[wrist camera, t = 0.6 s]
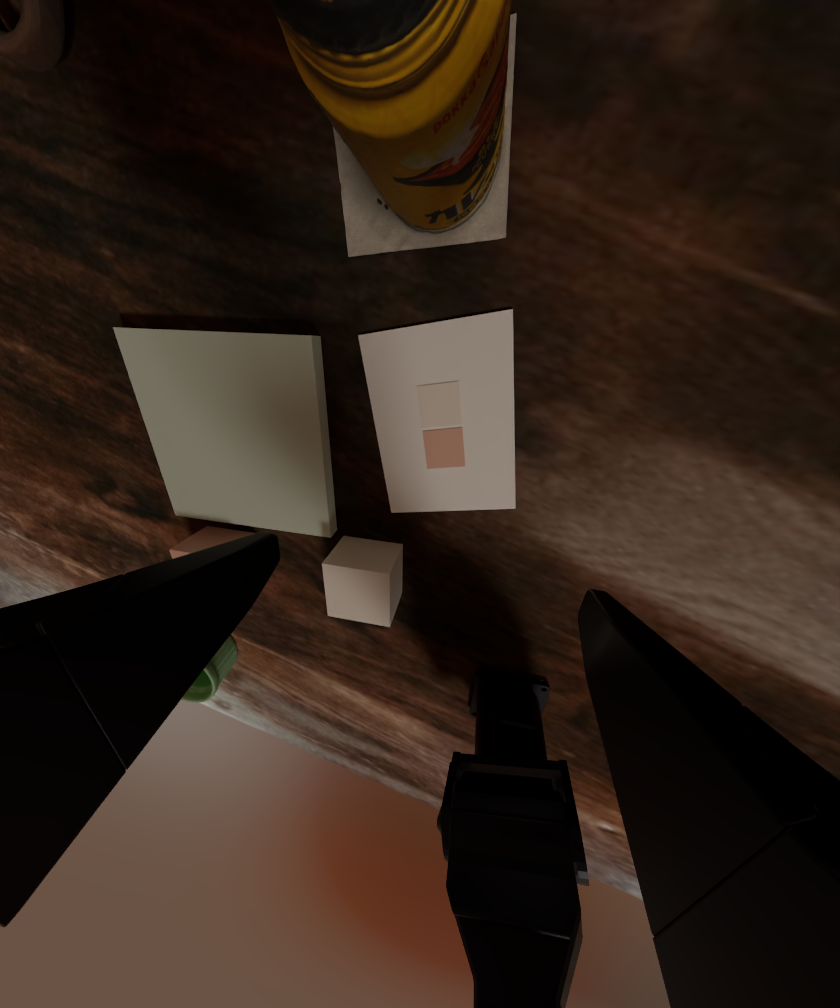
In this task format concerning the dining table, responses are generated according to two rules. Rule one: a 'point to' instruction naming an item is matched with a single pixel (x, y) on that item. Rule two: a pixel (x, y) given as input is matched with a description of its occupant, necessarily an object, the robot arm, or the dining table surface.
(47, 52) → the dish
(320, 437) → the baseplate
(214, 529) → the terracotta brick
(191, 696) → the ramekin
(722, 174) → the dining table surface
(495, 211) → the condiment
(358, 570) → the cream brick
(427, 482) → the page
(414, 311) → the dining table surface
